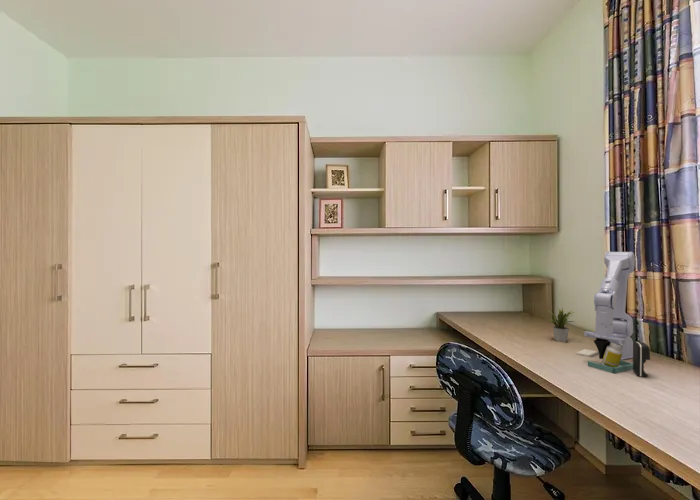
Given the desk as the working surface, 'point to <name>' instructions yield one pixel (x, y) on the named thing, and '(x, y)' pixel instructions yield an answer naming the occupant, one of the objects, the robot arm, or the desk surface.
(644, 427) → the desk surface
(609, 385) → the desk surface
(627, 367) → the bracket
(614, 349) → the supplement bottle
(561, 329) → the house plant
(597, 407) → the desk surface
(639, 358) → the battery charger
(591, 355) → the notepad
